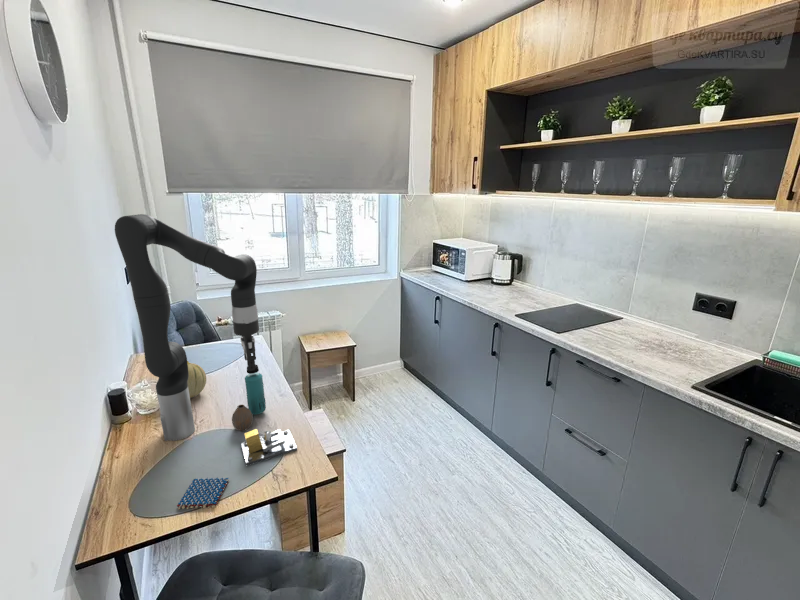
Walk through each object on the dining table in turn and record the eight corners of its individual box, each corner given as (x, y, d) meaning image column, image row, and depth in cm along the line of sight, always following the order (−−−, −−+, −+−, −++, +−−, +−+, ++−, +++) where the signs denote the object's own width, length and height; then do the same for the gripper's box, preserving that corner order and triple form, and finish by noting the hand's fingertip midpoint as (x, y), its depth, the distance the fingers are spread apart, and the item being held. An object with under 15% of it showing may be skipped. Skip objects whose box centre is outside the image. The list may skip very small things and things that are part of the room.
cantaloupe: (165, 409, 149) (159, 374, 144) (170, 391, 161) (164, 359, 157) (208, 401, 154) (203, 367, 150) (209, 384, 167) (204, 353, 163)
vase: (233, 435, 134) (231, 413, 131) (232, 424, 140) (229, 403, 137) (254, 430, 137) (252, 408, 134) (252, 420, 143) (249, 399, 140)
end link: (251, 457, 121) (246, 442, 119) (247, 444, 127) (243, 430, 125) (285, 443, 126) (281, 428, 124) (280, 431, 132) (277, 417, 130)
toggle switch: (245, 465, 119) (243, 449, 117) (241, 445, 128) (239, 430, 127) (297, 450, 127) (296, 434, 125) (289, 432, 136) (288, 417, 134)
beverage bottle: (260, 419, 143) (255, 370, 137) (244, 417, 144) (239, 369, 139) (269, 409, 149) (265, 363, 144) (254, 407, 150) (249, 361, 145)
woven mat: (193, 482, 113) (192, 477, 112) (230, 481, 114) (229, 475, 113) (175, 511, 103) (174, 505, 102) (216, 509, 104) (215, 503, 103)
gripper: (230, 313, 125) (235, 358, 130) (234, 327, 113) (240, 376, 118) (254, 310, 129) (258, 354, 133) (261, 323, 117) (265, 371, 121)
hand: (250, 364), depth 126 cm, fingers open, 8 cm apart
